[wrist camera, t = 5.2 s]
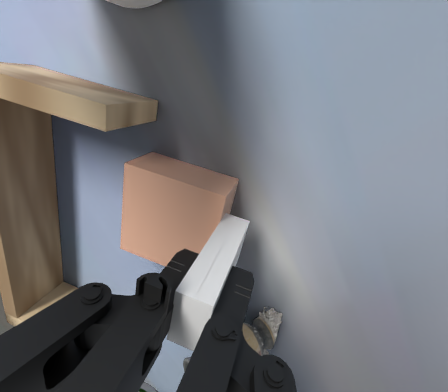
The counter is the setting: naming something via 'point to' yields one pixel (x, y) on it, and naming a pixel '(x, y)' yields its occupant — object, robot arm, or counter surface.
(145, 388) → the beer can
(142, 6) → the milk bottle
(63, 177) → the counter surface
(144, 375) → the robot arm
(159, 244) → the tile
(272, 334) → the vase
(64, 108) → the frame
